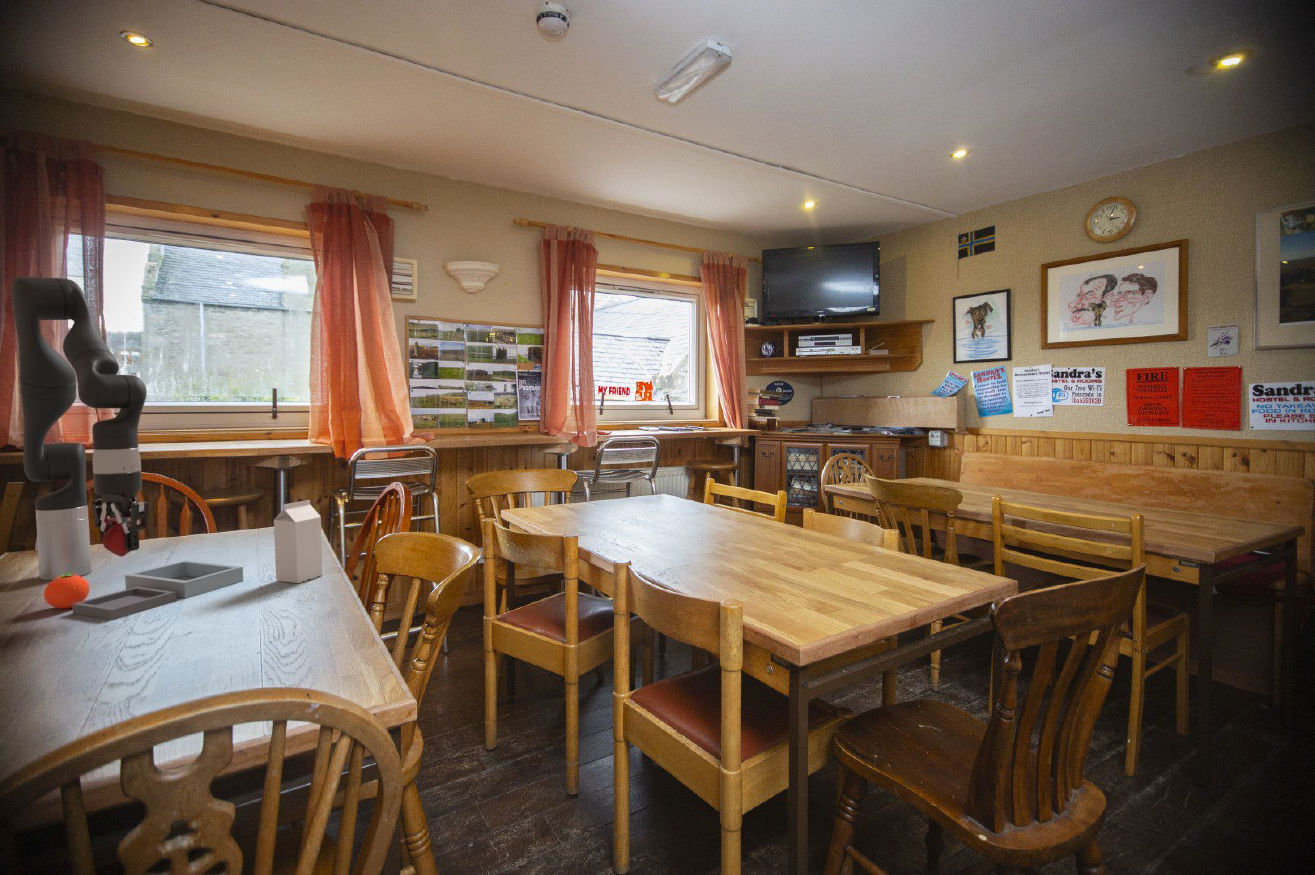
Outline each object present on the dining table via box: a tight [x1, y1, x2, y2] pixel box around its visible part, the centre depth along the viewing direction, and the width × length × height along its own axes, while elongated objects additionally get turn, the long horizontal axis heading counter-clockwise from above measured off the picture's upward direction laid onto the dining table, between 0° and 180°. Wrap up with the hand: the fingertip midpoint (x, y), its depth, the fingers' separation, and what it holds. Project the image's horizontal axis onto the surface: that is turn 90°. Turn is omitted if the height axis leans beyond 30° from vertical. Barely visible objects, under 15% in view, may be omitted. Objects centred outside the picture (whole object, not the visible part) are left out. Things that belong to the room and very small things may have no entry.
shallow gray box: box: [124, 560, 244, 599], centre depth 143 cm, size 19×13×4 cm
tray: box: [71, 587, 177, 621], centre depth 128 cm, size 12×12×2 cm
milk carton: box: [273, 499, 324, 584], centre depth 148 cm, size 7×7×19 cm
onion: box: [102, 521, 141, 558], centre depth 127 cm, size 6×6×8 cm
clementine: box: [43, 574, 91, 609], centre depth 128 cm, size 8×7×7 cm
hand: (122, 548), depth 127 cm, fingers closed on onion, 6 cm apart
